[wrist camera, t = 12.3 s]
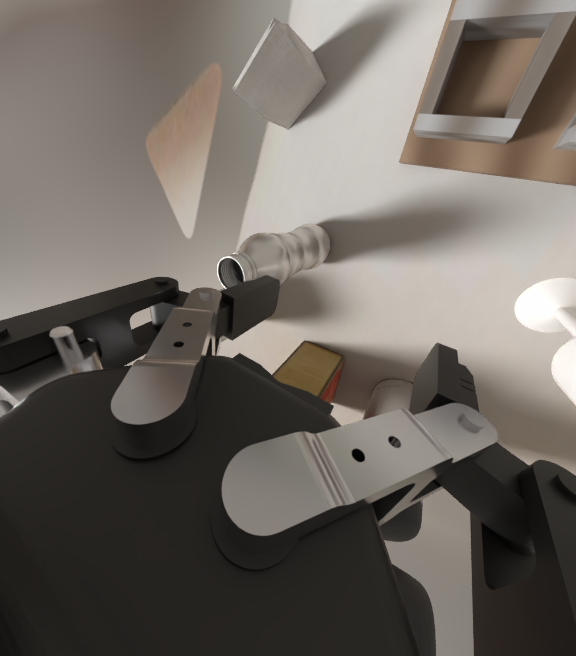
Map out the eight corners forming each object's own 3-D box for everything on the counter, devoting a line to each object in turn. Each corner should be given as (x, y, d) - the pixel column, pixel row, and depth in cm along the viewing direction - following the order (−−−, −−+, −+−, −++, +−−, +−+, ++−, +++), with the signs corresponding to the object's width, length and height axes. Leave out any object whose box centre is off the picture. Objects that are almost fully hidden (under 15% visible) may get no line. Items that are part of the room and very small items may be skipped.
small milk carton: (327, 82, 29) (285, 41, 21) (288, 129, 33) (241, 108, 26) (312, 51, 28) (264, -2, 21) (274, 103, 33) (223, 74, 25)
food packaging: (333, 404, 51) (268, 525, 32) (295, 385, 55) (216, 485, 36) (347, 356, 44) (274, 475, 25) (302, 338, 48) (209, 431, 29)
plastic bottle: (290, 245, 40) (198, 273, 25) (315, 212, 36) (221, 222, 21) (315, 273, 40) (237, 318, 25) (343, 243, 36) (269, 277, 21)
